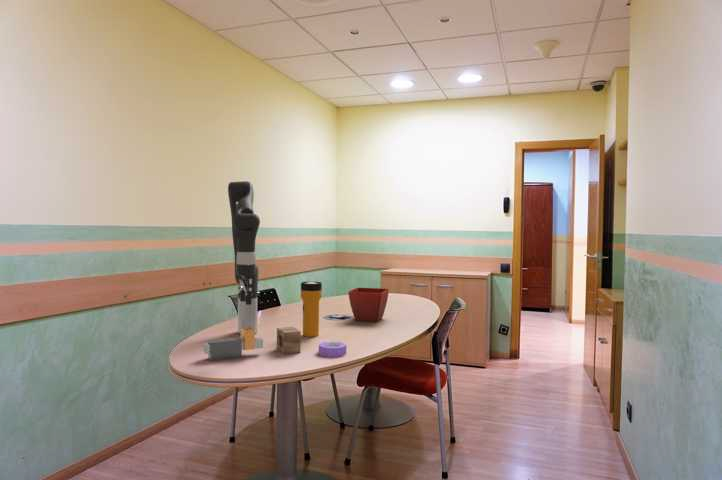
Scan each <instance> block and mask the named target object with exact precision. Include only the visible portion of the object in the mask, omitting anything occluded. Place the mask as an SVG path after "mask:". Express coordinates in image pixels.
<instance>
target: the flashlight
mask: <svg viewBox="0 0 722 480" xmlns="http://www.w3.org/2000/svg"><path fill="white" fill-rule="evenodd" d="M322 284H323V283H322V282H321V281H302V282H300V298H301V299H302V336H303V337H306V338H314V337H318V336H320V335H319V334H320V332H319V331H320V330H319V329H320V328H319V327H320V300H321V299H322V295H323V294H322V292H323V291H322V289H323V287H322Z"/></svg>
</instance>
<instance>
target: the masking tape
mask: <svg viewBox="0 0 722 480" xmlns="http://www.w3.org/2000/svg"><path fill="white" fill-rule="evenodd" d="M347 346H348V345H347V343H345V342H341V341H333V340H331V341H323V342H319V344H318V355H320V356H323V357H330V358H332V357H334V358H335V357H336V358H337V357H343V356H345V355H346V354H347Z"/></svg>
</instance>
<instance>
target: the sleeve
mask: <svg viewBox="0 0 722 480" xmlns="http://www.w3.org/2000/svg"><path fill="white" fill-rule="evenodd" d="M207 343H210V344H211V353H210V354H207V355H208V357H207V358H208V359H209V360H210V362H214V361H222V360H233V359H242V357H243V355H242V354H243V350H242V340H241V337H239V336H238V337H230V338H229V337H228V338H217V339H209V340H207Z"/></svg>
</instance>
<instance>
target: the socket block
mask: <svg viewBox="0 0 722 480" xmlns="http://www.w3.org/2000/svg"><path fill="white" fill-rule="evenodd" d="M301 335H302V333H301V330H299V329H298V328H296V327H294V326H285V327H276V350H278V352H280V351H281V352H280V353H282V354H283V355H291V353H292V354H300V353H301V341H302V340H301V337H302V336H301ZM299 352H300V353H299Z"/></svg>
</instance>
